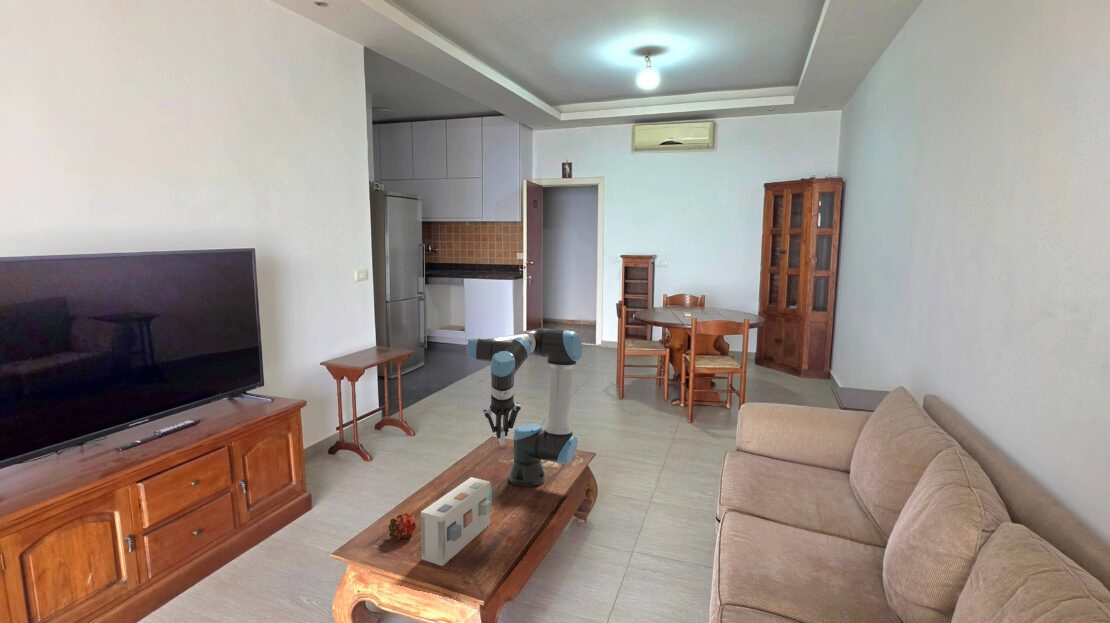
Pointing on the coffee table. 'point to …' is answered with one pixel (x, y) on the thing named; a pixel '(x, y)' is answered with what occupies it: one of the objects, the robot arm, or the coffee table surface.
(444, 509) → the button box
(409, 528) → the dragon fruit
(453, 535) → the slate button
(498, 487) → the coffee table surface
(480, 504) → the sage button
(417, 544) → the coffee table surface
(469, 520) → the terracotta button
